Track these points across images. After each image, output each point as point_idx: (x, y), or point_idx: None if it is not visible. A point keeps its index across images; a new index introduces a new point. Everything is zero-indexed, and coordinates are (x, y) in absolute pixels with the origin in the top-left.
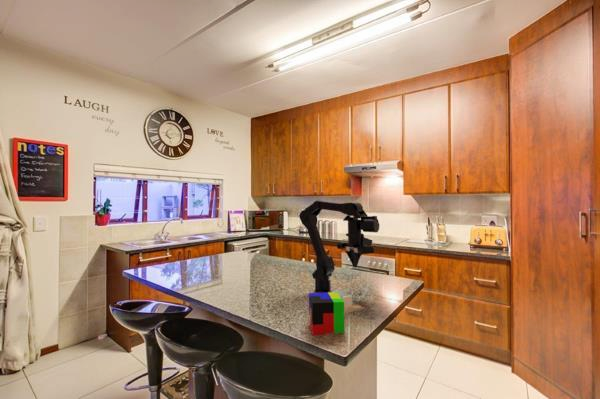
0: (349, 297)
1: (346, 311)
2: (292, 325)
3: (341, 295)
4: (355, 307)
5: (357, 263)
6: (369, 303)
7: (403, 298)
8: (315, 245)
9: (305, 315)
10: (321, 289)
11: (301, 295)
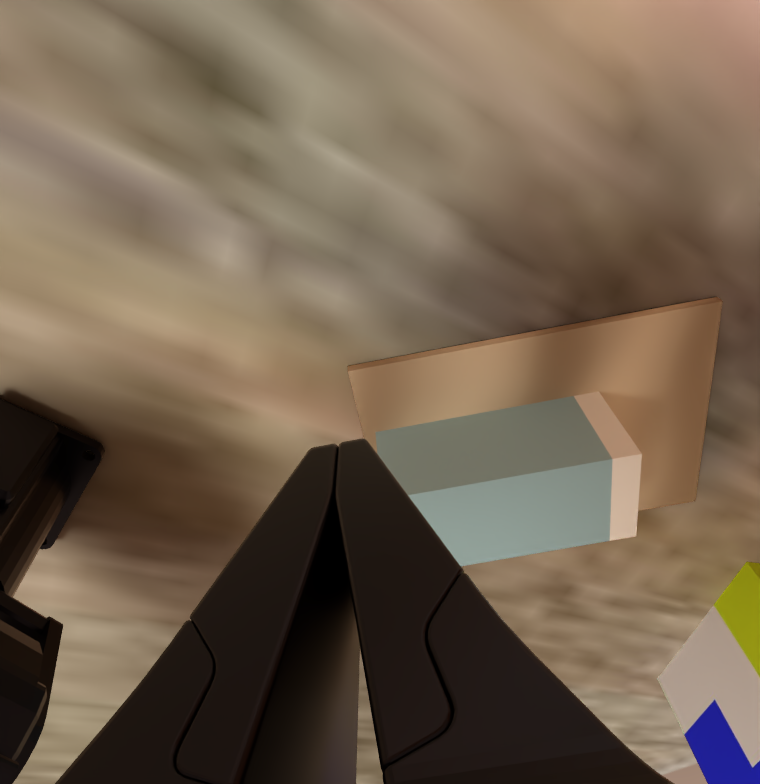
0: (635, 472)
1: (672, 475)
2: (644, 734)
3: (569, 532)
4: (642, 376)
5: (410, 509)
6: (596, 157)
7: None
8: None
9: (558, 677)
10: (60, 510)
11: (145, 636)
